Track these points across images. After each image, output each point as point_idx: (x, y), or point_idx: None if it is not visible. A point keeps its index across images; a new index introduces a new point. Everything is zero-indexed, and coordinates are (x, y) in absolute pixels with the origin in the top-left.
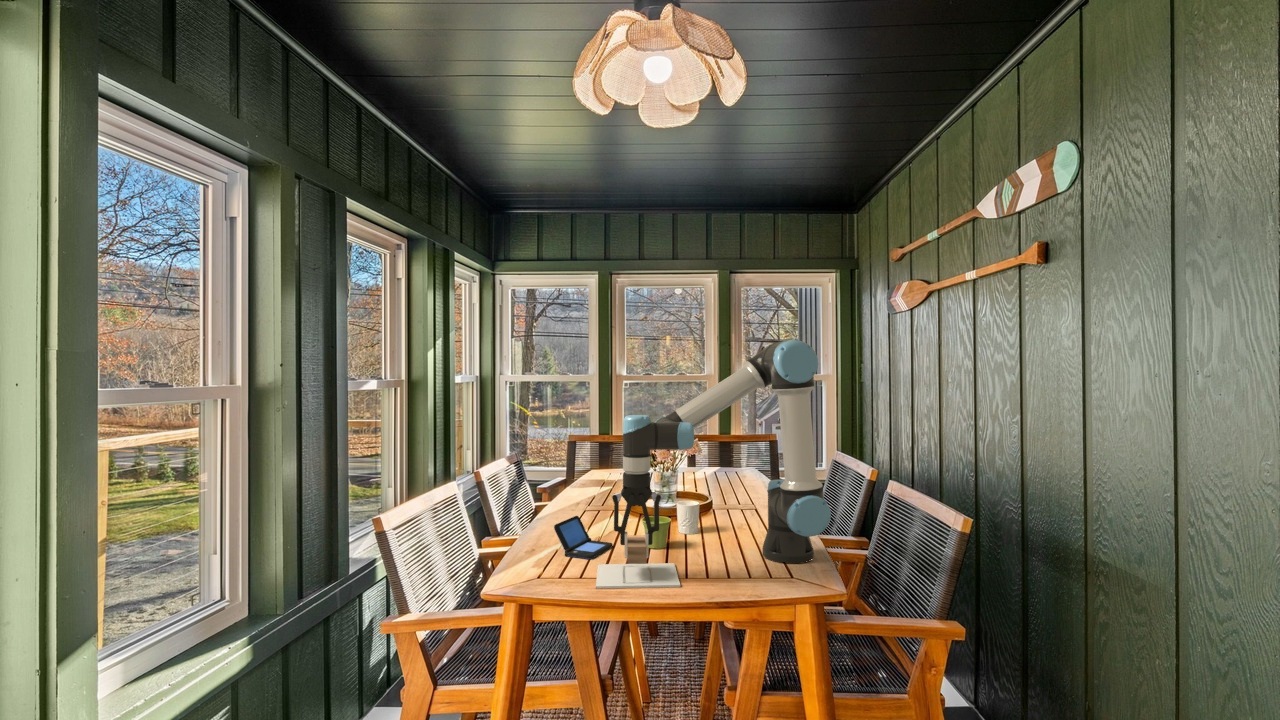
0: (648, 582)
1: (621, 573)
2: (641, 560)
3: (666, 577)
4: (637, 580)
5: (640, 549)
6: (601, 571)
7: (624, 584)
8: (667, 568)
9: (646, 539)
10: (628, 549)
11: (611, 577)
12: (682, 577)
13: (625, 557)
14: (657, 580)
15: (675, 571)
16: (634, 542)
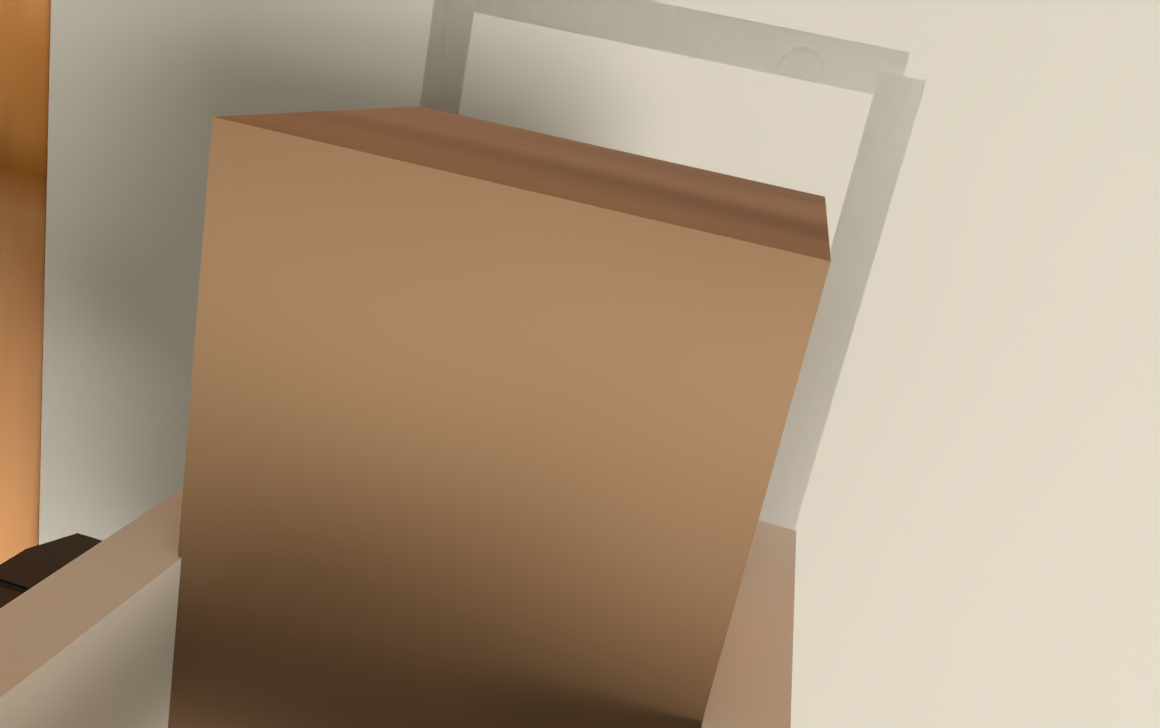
0: (502, 6)
1: (813, 533)
2: (496, 131)
3: (203, 162)
4: (651, 149)
5: (425, 156)
6: (1101, 715)
7: (919, 6)
8: (139, 515)
9: (99, 595)
10: (799, 244)
11: (1033, 404)
12: (10, 195)
13: (775, 533)
14: (350, 65)
15: (56, 370)
16: (488, 657)
